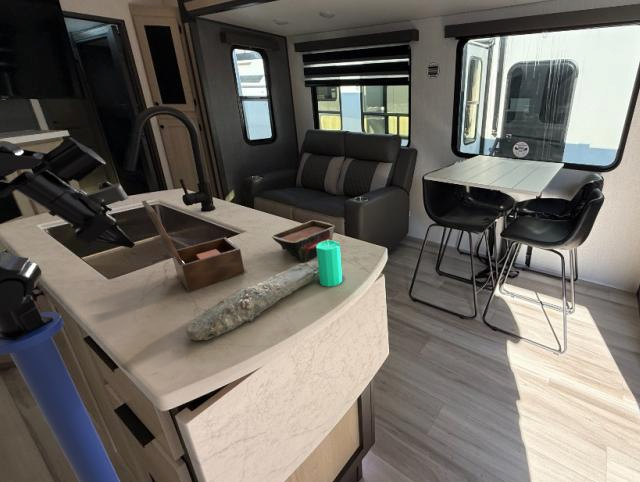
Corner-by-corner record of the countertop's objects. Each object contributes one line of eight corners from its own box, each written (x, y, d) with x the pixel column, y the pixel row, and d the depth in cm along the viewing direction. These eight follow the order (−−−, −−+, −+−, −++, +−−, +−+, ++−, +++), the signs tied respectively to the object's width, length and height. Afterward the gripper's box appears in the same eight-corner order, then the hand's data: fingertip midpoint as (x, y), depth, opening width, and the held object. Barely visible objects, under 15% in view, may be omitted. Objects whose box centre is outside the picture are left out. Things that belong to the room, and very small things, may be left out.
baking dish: (273, 257, 101) (265, 231, 96) (318, 233, 113) (313, 208, 108) (299, 275, 93) (292, 247, 88) (345, 247, 105) (341, 221, 100)
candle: (331, 289, 81) (327, 246, 77) (314, 282, 84) (310, 240, 80) (347, 278, 86) (344, 237, 81) (330, 272, 88) (327, 233, 84)
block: (205, 277, 85) (201, 260, 83) (199, 270, 88) (195, 254, 86) (225, 270, 88) (222, 254, 86) (219, 264, 91) (215, 248, 89)
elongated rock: (333, 277, 88) (307, 270, 93) (331, 260, 87) (305, 253, 92) (205, 351, 59) (178, 335, 64) (199, 327, 58) (172, 312, 63)
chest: (229, 259, 96) (225, 236, 94) (244, 272, 89) (240, 248, 86) (177, 275, 87) (170, 251, 85) (188, 291, 79) (181, 266, 77)
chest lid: (145, 200, 78) (141, 201, 77) (154, 210, 70) (150, 212, 70) (171, 249, 85) (168, 250, 84) (183, 263, 77) (179, 265, 77)
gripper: (97, 173, 59) (171, 228, 68) (96, 166, 72) (158, 213, 81) (36, 216, 54) (123, 268, 64) (46, 201, 67) (118, 246, 77)
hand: (133, 246), depth 71 cm, fingers closed
